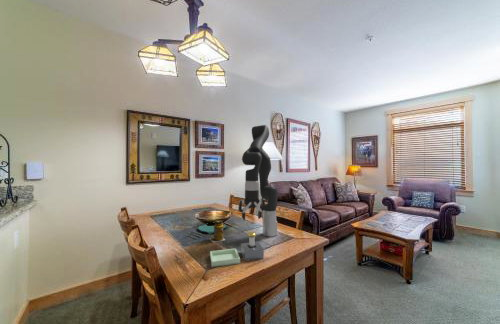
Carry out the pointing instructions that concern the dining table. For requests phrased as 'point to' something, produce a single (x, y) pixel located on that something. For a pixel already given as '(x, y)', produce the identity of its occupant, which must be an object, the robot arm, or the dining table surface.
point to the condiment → (218, 231)
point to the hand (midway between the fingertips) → (251, 218)
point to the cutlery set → (203, 230)
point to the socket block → (252, 251)
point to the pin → (251, 239)
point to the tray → (224, 257)
